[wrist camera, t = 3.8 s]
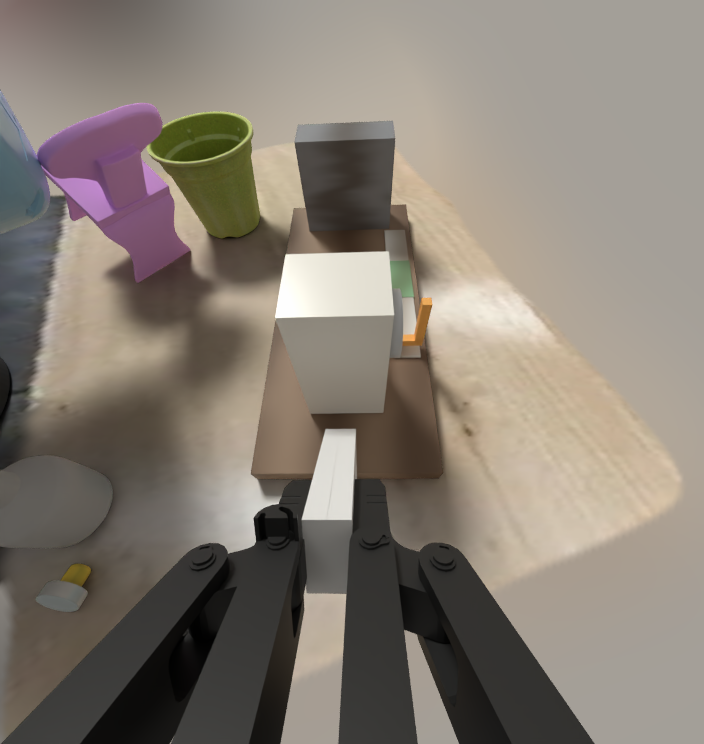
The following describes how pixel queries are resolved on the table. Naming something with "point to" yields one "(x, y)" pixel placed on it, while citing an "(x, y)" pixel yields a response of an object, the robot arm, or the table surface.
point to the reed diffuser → (53, 516)
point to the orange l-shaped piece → (419, 324)
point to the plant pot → (212, 169)
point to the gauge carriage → (340, 328)
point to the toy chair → (117, 183)
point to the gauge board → (391, 233)
